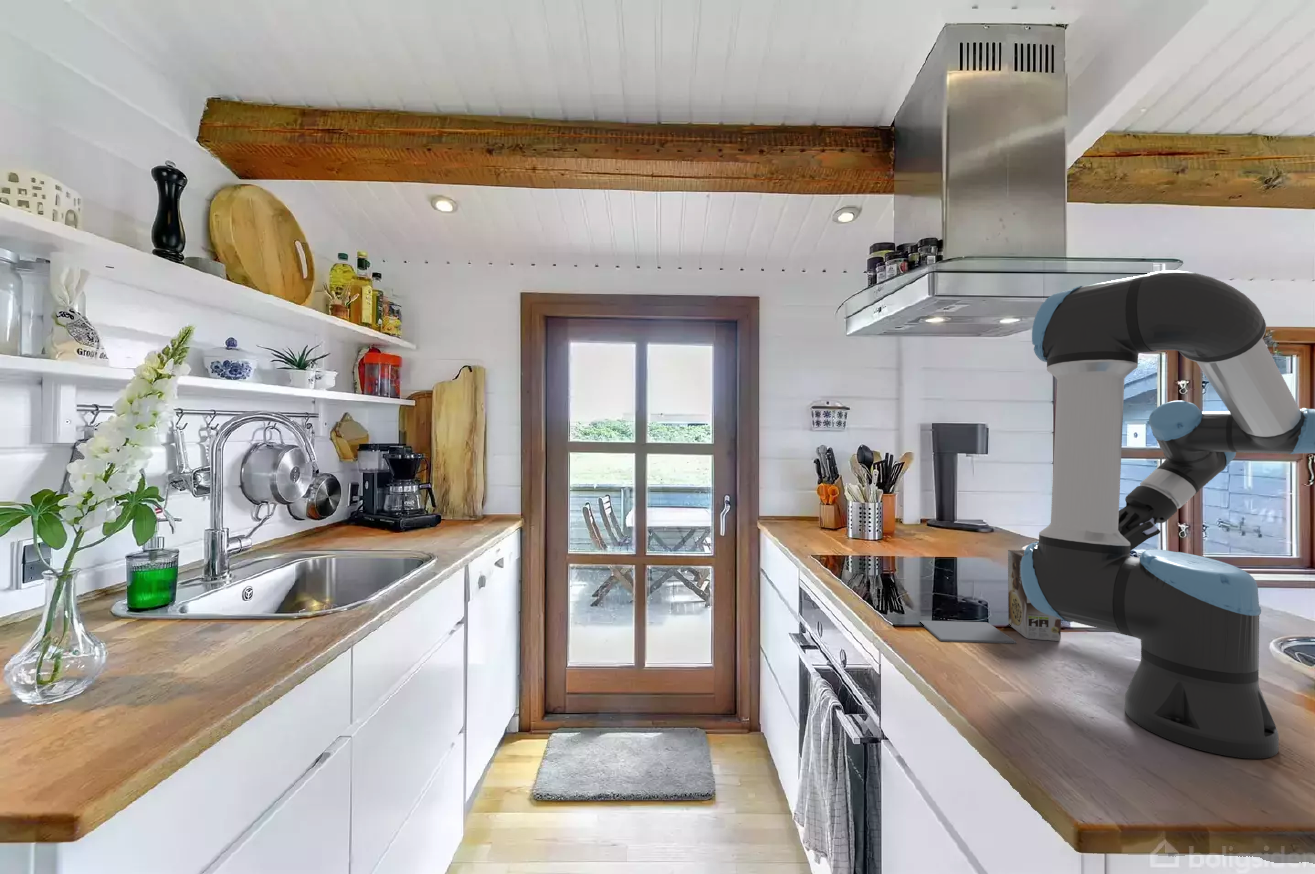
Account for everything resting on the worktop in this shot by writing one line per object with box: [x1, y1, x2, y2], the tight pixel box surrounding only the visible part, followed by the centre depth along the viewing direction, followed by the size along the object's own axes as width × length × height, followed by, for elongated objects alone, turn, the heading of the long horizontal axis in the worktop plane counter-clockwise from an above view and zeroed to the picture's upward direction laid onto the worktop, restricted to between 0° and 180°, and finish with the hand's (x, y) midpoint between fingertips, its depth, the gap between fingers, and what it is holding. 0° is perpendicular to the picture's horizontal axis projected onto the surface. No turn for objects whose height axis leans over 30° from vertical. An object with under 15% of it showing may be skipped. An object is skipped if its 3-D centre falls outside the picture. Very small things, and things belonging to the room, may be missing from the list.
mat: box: [918, 620, 1017, 644], centre depth 114 cm, size 14×11×1 cm
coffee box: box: [1007, 549, 1062, 642], centre depth 114 cm, size 9×6×16 cm
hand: (1070, 578), depth 114 cm, fingers closed
